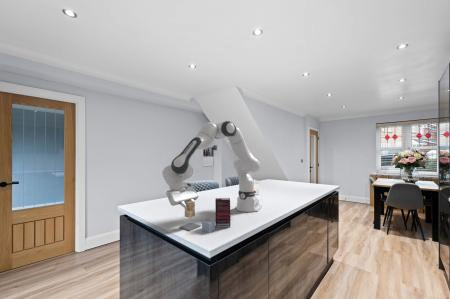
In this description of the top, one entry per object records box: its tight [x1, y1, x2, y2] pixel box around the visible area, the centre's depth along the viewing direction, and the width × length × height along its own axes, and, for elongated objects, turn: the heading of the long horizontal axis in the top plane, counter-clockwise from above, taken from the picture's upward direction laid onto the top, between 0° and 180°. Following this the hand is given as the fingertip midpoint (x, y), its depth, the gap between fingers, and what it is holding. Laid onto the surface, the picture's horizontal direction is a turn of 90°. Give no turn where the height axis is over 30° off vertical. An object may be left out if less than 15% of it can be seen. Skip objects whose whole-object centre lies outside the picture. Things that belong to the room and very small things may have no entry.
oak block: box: [184, 201, 196, 219], centre depth 117 cm, size 4×4×8 cm
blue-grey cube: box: [201, 219, 216, 234], centre depth 111 cm, size 5×5×5 cm
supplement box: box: [214, 197, 231, 229], centre depth 118 cm, size 9×5×16 cm, turn 92°
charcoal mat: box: [179, 222, 202, 232], centre depth 116 cm, size 9×8×1 cm
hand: (190, 207), depth 116 cm, fingers closed on oak block, 4 cm apart
